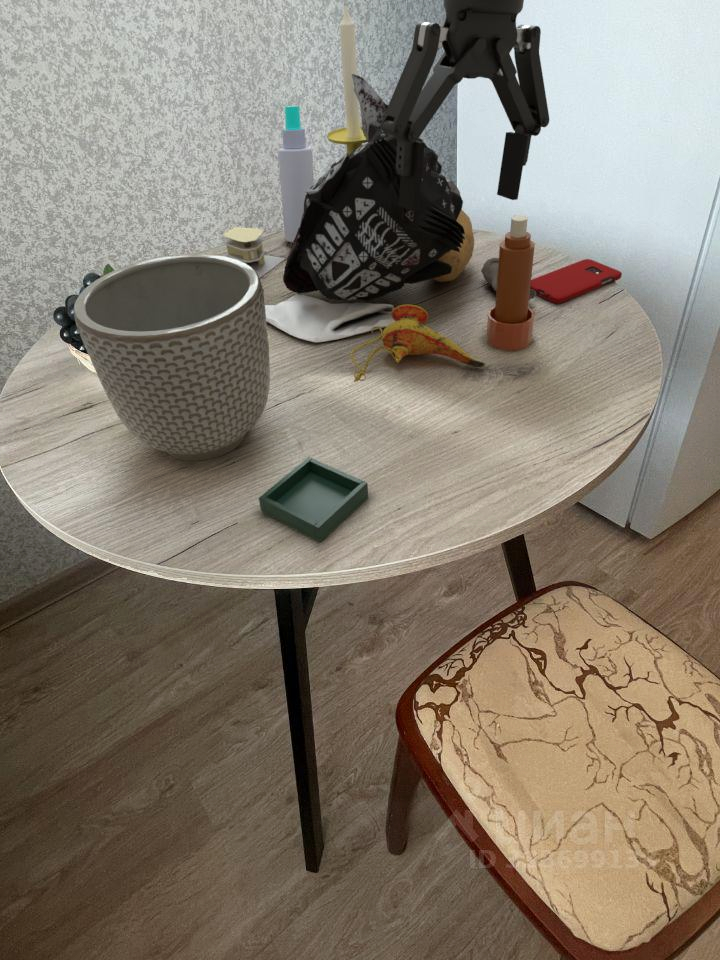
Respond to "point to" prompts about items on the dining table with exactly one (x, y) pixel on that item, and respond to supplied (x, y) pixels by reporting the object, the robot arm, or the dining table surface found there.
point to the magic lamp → (413, 339)
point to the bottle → (514, 273)
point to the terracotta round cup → (509, 332)
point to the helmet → (373, 220)
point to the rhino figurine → (496, 274)
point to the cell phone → (573, 280)
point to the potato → (460, 258)
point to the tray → (314, 498)
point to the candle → (349, 90)
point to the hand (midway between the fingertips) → (459, 202)
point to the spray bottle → (294, 172)
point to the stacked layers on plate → (250, 249)
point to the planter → (180, 350)
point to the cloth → (326, 318)
